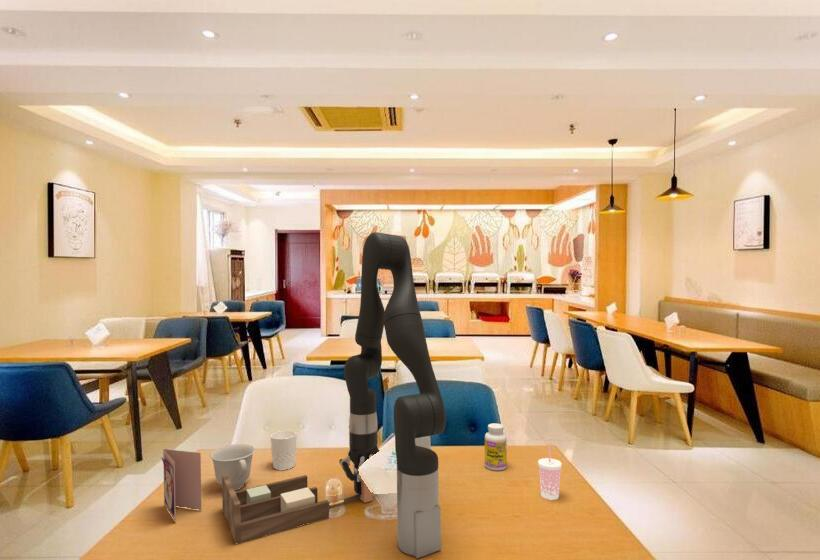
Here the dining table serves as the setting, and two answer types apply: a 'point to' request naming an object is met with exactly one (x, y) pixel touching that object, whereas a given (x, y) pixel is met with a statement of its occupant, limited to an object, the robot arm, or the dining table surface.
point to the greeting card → (181, 480)
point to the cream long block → (307, 497)
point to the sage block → (257, 494)
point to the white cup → (283, 449)
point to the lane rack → (268, 510)
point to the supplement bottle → (495, 447)
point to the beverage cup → (549, 477)
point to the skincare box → (423, 442)
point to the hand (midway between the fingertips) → (364, 492)
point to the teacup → (233, 463)
